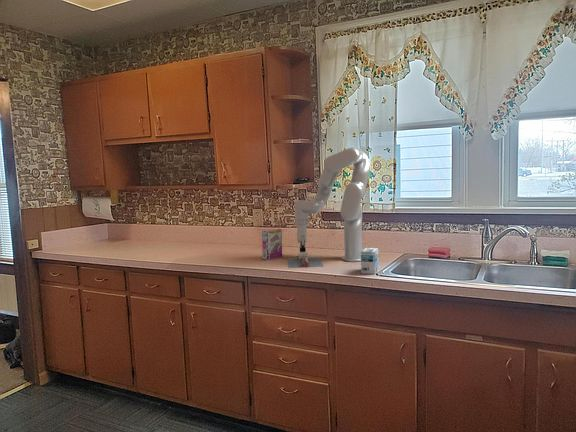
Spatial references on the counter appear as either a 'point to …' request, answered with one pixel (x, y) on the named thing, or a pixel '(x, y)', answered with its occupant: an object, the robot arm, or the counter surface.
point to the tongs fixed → (306, 262)
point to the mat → (298, 264)
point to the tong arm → (303, 261)
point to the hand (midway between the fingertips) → (302, 254)
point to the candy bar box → (271, 244)
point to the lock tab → (303, 254)
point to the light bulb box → (369, 260)
